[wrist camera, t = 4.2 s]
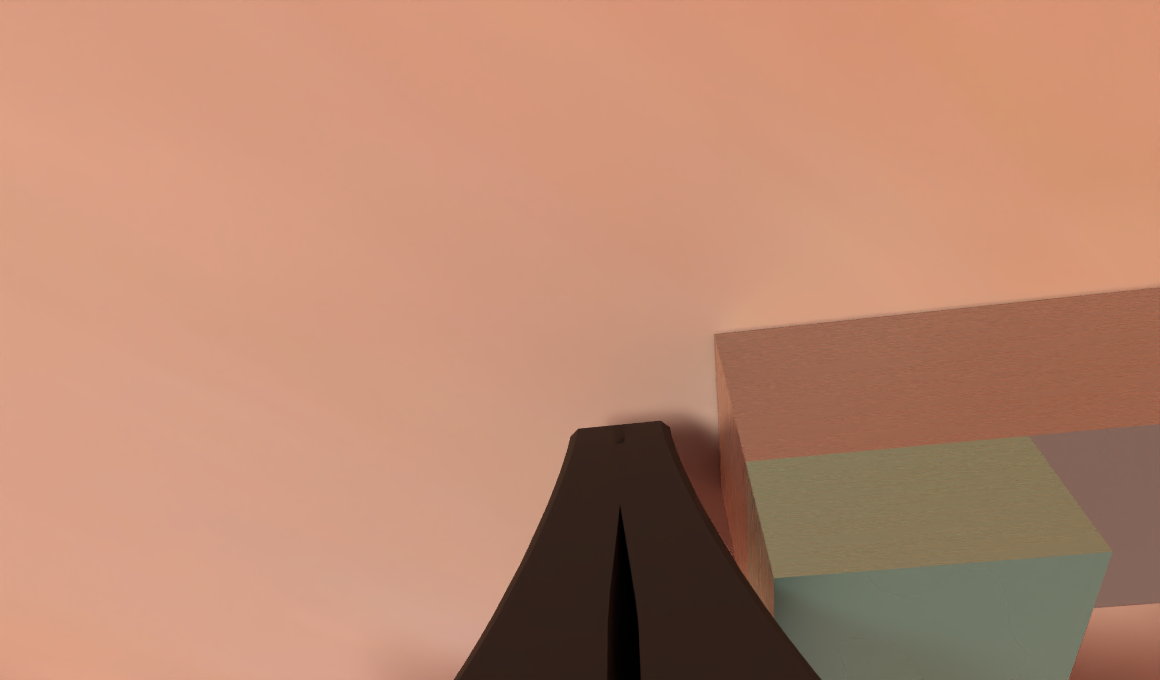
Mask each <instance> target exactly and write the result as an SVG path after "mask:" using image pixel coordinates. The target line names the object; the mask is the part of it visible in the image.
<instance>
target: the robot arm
mask: <svg viewBox="0 0 1160 680" xmlns="http://www.w3.org/2000/svg"><path fill="white" fill-rule="evenodd" d="M454 680H822V679H821V678H820V677H819V676H818V675H817V673H816V672H815V671H814V670H813V668H812V667H811V666H810V665H809V663H808V662H807V661H806V660H805V658H804V657H803V656H802V654H801V653H800V652H799V651H798V649H797V648H796V647H795V646H794V644H793V643H792V642H791V640H790V639H789V638H788V636H787V635H786V634H785V632H784V631H783V630H782V628H781V627H780V626H779V624H778V623H777V622H776V620H775V619H774V618H773V616H772V615H771V613H770V612H769V611H768V609H767V608H766V606H765V605H764V604H763V602H762V601H761V599H760V598H759V596H758V595H757V593H756V592H755V590H754V589H753V587H752V586H751V585H750V583H749V582H748V580H747V579H746V577H745V576H744V574H743V573H742V571H741V570H740V568H739V567H738V565H737V563H736V562H735V560H734V559H733V557H732V556H731V554H730V552H729V551H728V549H727V548H726V546H725V544H724V542H723V541H722V539H721V537H720V536H719V534H718V532H717V530H716V529H715V527H714V525H713V524H712V522H711V520H710V518H709V517H708V515H707V513H706V512H705V510H704V508H703V506H702V504H701V502H700V500H699V499H698V497H697V495H696V493H695V491H694V489H693V487H692V485H691V482H690V480H689V478H688V476H687V474H686V472H685V470H684V468H683V465H682V463H681V461H680V458H679V456H678V453H677V451H676V448H675V445H674V442H673V439H672V435H671V431H670V427H669V426H667V425H666V424H664V423H663V422H662V421H654V422H644V423H633V424H623V425H613V426H602V427H592V428H581V429H578V430H577V431H576V432H575V433H574V434H573V435H572V436H571V437H570V441H569V445H568V449H567V453H566V456H565V459H564V462H563V465H562V468H561V471H560V474H559V477H558V479H557V482H556V485H555V487H554V490H553V492H552V495H551V497H550V500H549V502H548V505H547V507H546V509H545V512H544V514H543V516H542V518H541V521H540V523H539V525H538V527H537V529H536V532H535V534H534V536H533V538H532V540H531V543H530V545H529V547H528V549H527V551H526V553H525V556H524V558H523V560H522V562H521V564H520V566H519V568H518V569H517V571H516V573H515V575H514V577H513V579H512V581H511V583H510V584H509V586H508V588H507V590H506V592H505V594H504V596H503V598H502V600H501V601H500V603H499V605H498V607H497V609H496V611H495V613H494V615H493V616H492V618H491V620H490V622H489V623H488V625H487V627H486V628H485V630H484V632H483V634H482V635H481V637H480V639H479V640H478V642H477V644H476V645H475V647H474V649H473V650H472V652H471V654H470V655H469V657H468V658H467V660H466V662H465V663H464V665H463V666H462V668H461V669H460V671H459V672H458V674H457V676H456V677H455V679H454Z"/></svg>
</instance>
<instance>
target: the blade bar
mask: <svg viewBox="0 0 1160 680" xmlns="http://www.w3.org/2000/svg"><path fill="white" fill-rule="evenodd" d="M714 341H715V362H716V383H717V404H718V425H719V446H720V467H721V488H722V496H723V501H724V506H725V511H726V516H727V521H728V526H729V531H730V536H731V542H732V547H733V552H734V557H735V562H736V563H737V565H738V567H739V568H740V570H741V571H742V573H743V574H744V576H745V577H746V579H747V580H748V582H749V583H750V585H751V586H752V587H753V589H754V590H755V592H756V593H757V595H758V596H759V598H760V599H761V601H762V602H763V604H764V605H765V606H766V608H767V609H768V611H769V612H770V613H771V615H772V616H773V618H774V619H775V620H776V622H777V623H778V624H779V626H780V627H781V628H782V630H783V631H784V632H785V634H786V635H787V636H788V638H789V639H790V640H791V642H792V643H793V644H794V646H795V647H796V648H797V649H798V651H799V652H800V653H801V654H802V656H803V657H804V658H805V660H806V661H807V662H808V663H809V665H810V666H811V667H812V668H813V670H814V671H815V672H816V673H817V675H818V676H819V677H820V678H821V679H822V680H1069V677H1070V674H1071V671H1072V669H1073V666H1074V663H1075V660H1076V657H1077V654H1078V651H1079V648H1080V645H1081V642H1082V640H1083V637H1084V634H1085V631H1086V628H1087V625H1088V622H1089V619H1090V616H1091V613H1092V611H1093V608H1099V607H1113V606H1127V605H1141V604H1154V603H1160V288H1151V289H1142V290H1132V291H1123V292H1113V293H1104V294H1094V295H1085V296H1075V297H1066V298H1056V299H1046V300H1037V301H1027V302H1018V303H1008V304H999V305H989V306H980V307H970V308H961V309H951V310H942V311H932V312H923V313H913V314H904V315H894V316H884V317H875V318H865V319H856V320H846V321H837V322H827V323H818V324H808V325H799V326H789V327H780V328H770V329H761V330H751V331H742V332H732V333H722V334H714Z"/></svg>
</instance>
